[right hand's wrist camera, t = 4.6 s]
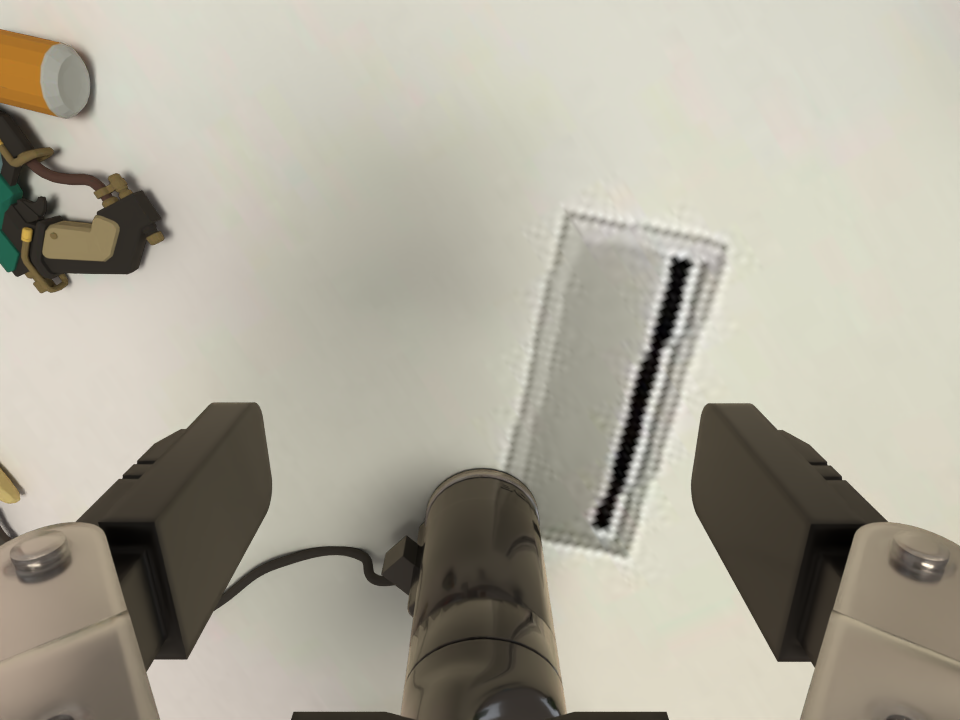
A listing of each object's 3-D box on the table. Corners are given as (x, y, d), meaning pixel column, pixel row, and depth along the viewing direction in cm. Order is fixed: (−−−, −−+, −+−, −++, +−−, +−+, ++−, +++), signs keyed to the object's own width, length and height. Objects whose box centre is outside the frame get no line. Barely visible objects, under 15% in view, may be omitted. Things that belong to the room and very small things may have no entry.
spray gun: (190, 264, 44) (-2, 292, 45) (93, -2, 37) (-131, 40, 38) (161, 282, 40) (-48, 313, 41) (46, -11, 33) (-202, 37, 34)
